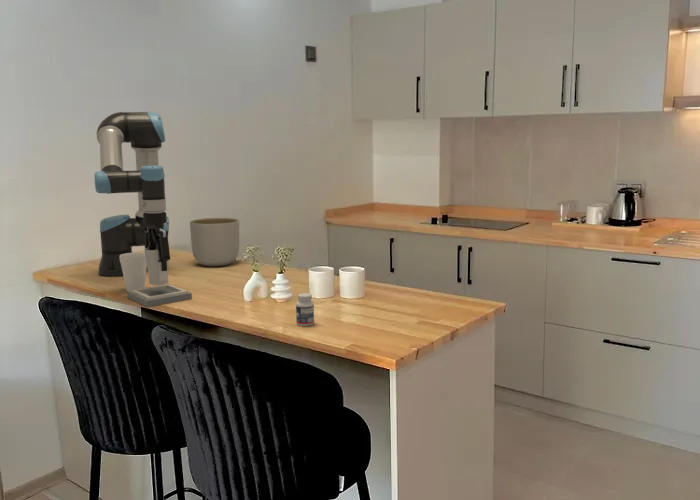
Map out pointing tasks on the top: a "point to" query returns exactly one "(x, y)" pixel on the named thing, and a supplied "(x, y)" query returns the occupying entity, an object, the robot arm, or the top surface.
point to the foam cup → (134, 270)
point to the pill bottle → (305, 310)
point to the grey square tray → (159, 295)
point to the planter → (215, 240)
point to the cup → (154, 267)
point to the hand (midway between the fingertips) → (158, 278)
